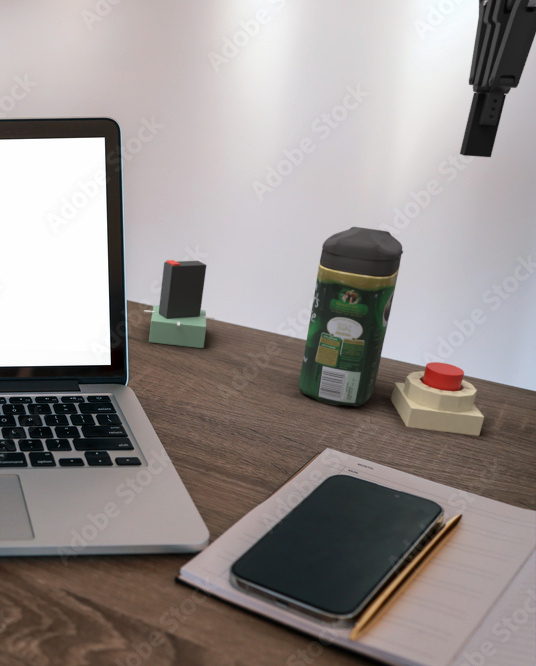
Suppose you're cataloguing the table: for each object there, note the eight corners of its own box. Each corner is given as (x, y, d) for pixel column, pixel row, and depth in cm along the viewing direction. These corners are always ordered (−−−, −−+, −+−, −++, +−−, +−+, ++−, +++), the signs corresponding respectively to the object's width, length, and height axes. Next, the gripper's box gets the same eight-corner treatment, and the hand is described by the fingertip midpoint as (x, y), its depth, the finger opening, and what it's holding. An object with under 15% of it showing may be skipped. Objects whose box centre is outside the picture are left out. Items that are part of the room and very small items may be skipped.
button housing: (457, 408, 85) (466, 374, 84) (479, 436, 79) (489, 400, 78) (390, 400, 87) (398, 367, 85) (406, 427, 80) (415, 392, 79)
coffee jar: (308, 370, 94) (336, 218, 88) (377, 386, 90) (411, 229, 84) (288, 397, 86) (317, 232, 80) (363, 415, 82) (400, 244, 76)
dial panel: (210, 329, 106) (213, 307, 105) (212, 352, 98) (215, 329, 97) (143, 322, 108) (146, 300, 107) (139, 344, 99) (142, 321, 98)
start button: (453, 382, 83) (458, 364, 82) (464, 395, 80) (469, 377, 79) (417, 378, 84) (422, 360, 83) (427, 391, 80) (431, 372, 80)
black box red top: (191, 311, 104) (198, 258, 101) (200, 316, 102) (207, 263, 99) (158, 313, 102) (164, 260, 100) (166, 318, 100) (172, 264, 98)
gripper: (470, -77, 83) (422, 147, 91) (517, -101, 71) (457, 159, 79) (546, -75, 82) (490, 152, 90) (607, -99, 70) (536, 165, 78)
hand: (475, 155), depth 85 cm, fingers closed
